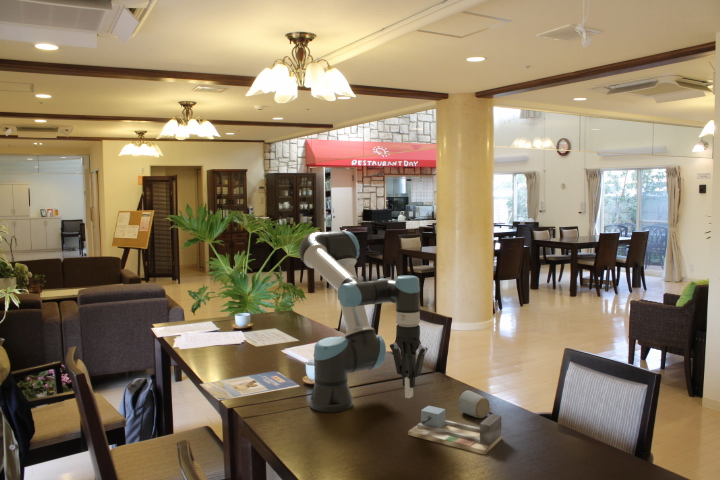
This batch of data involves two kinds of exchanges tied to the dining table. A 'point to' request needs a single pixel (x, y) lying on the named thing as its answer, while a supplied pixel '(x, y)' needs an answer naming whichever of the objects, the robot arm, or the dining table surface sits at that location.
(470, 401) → the ceramic mug
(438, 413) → the carriage
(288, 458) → the dining table surface
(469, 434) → the gauge base
